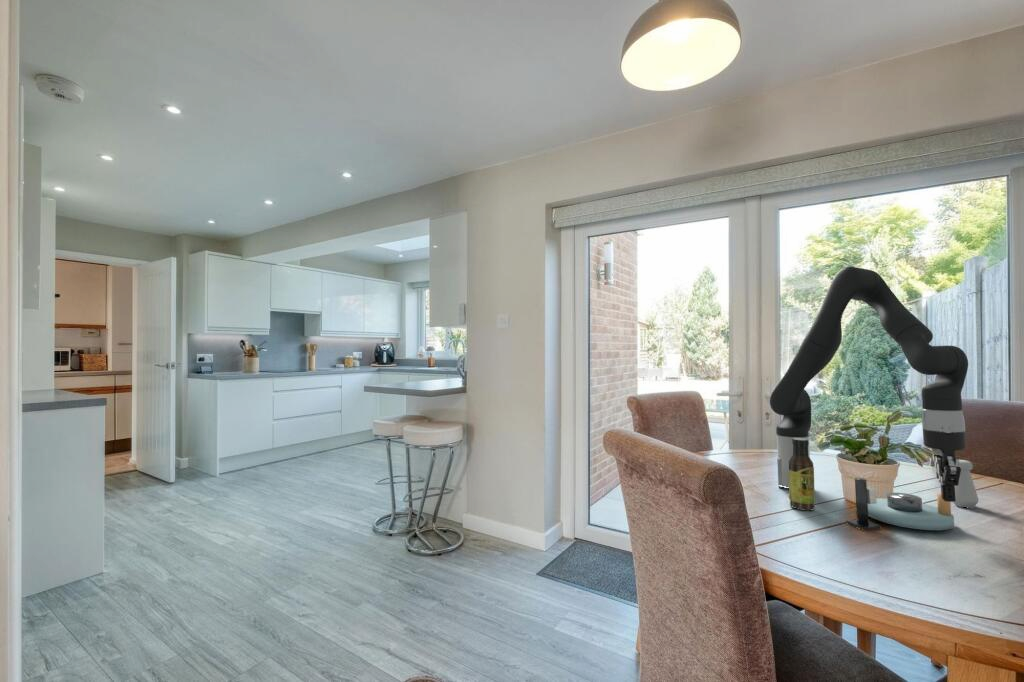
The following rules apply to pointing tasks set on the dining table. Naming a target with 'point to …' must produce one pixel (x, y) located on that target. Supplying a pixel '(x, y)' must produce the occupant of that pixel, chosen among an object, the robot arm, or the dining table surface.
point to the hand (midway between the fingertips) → (948, 500)
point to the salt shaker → (965, 487)
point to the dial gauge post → (863, 505)
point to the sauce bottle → (801, 476)
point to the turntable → (915, 515)
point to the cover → (904, 502)
